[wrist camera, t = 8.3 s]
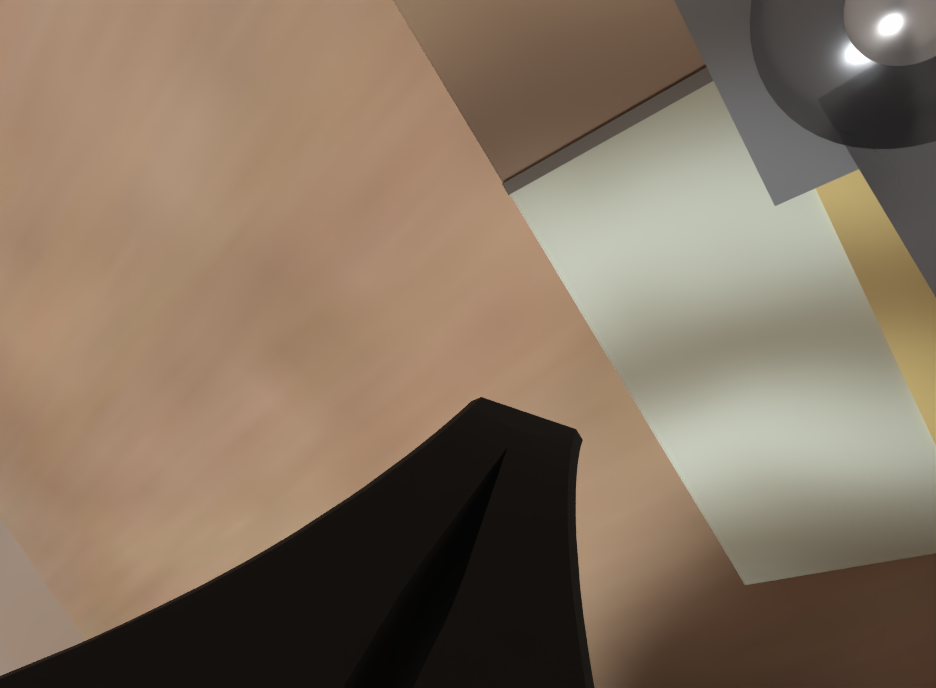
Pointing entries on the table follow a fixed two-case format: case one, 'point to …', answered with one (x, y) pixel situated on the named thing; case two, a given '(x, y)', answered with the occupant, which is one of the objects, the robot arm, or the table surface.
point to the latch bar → (863, 96)
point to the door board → (714, 266)
